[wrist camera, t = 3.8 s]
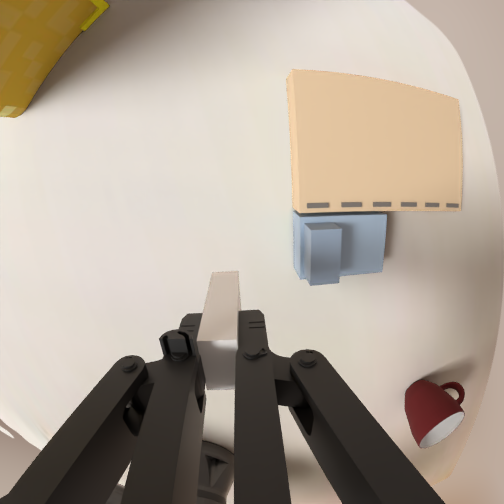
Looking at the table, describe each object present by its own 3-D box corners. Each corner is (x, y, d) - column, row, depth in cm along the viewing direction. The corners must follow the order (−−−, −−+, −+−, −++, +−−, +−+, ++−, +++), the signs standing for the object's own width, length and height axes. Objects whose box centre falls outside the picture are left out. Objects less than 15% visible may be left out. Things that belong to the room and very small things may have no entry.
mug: (446, 352, 32) (480, 391, 23) (447, 379, 35) (475, 415, 25) (390, 389, 34) (417, 437, 24) (397, 412, 36) (419, 454, 27)
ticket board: (292, 207, 25) (300, 213, 22) (286, 79, 21) (292, 68, 18) (443, 206, 25) (461, 211, 22) (441, 102, 22) (459, 99, 19)
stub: (293, 266, 27) (306, 291, 21) (293, 210, 25) (307, 223, 20) (369, 261, 27) (394, 282, 22) (372, 208, 25) (400, 220, 20)
